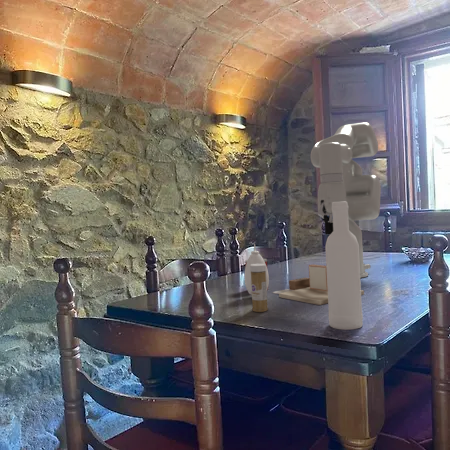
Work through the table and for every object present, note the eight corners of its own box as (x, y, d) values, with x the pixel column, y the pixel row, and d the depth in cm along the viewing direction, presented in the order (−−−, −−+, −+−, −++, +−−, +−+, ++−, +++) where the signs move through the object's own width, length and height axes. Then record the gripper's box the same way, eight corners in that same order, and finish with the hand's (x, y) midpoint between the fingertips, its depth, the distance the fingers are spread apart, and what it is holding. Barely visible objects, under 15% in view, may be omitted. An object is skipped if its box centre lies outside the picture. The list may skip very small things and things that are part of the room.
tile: (314, 287, 154) (312, 264, 153) (331, 290, 147) (330, 266, 147) (309, 288, 152) (308, 265, 152) (327, 291, 146) (326, 266, 145)
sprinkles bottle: (249, 311, 130) (246, 265, 129) (258, 308, 133) (255, 262, 133) (262, 313, 127) (259, 265, 126) (271, 309, 130) (268, 263, 130)
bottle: (353, 331, 104) (347, 201, 103) (323, 327, 109) (316, 203, 108) (368, 323, 110) (362, 200, 108) (338, 319, 115) (332, 202, 114)
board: (322, 287, 159) (322, 284, 159) (364, 294, 144) (363, 290, 144) (279, 297, 147) (279, 293, 147) (319, 305, 133) (319, 301, 133)
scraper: (304, 286, 163) (303, 277, 163) (314, 288, 159) (313, 278, 159) (272, 293, 155) (271, 283, 155) (282, 295, 151) (281, 284, 151)
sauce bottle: (253, 301, 143) (250, 244, 143) (241, 297, 150) (238, 243, 150) (274, 297, 147) (271, 242, 146) (261, 294, 154) (258, 241, 153)
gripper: (340, 180, 161) (342, 231, 161) (305, 181, 151) (308, 235, 152) (356, 178, 154) (359, 231, 155) (322, 179, 145) (325, 236, 146)
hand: (334, 233), depth 154 cm, fingers open, 4 cm apart
